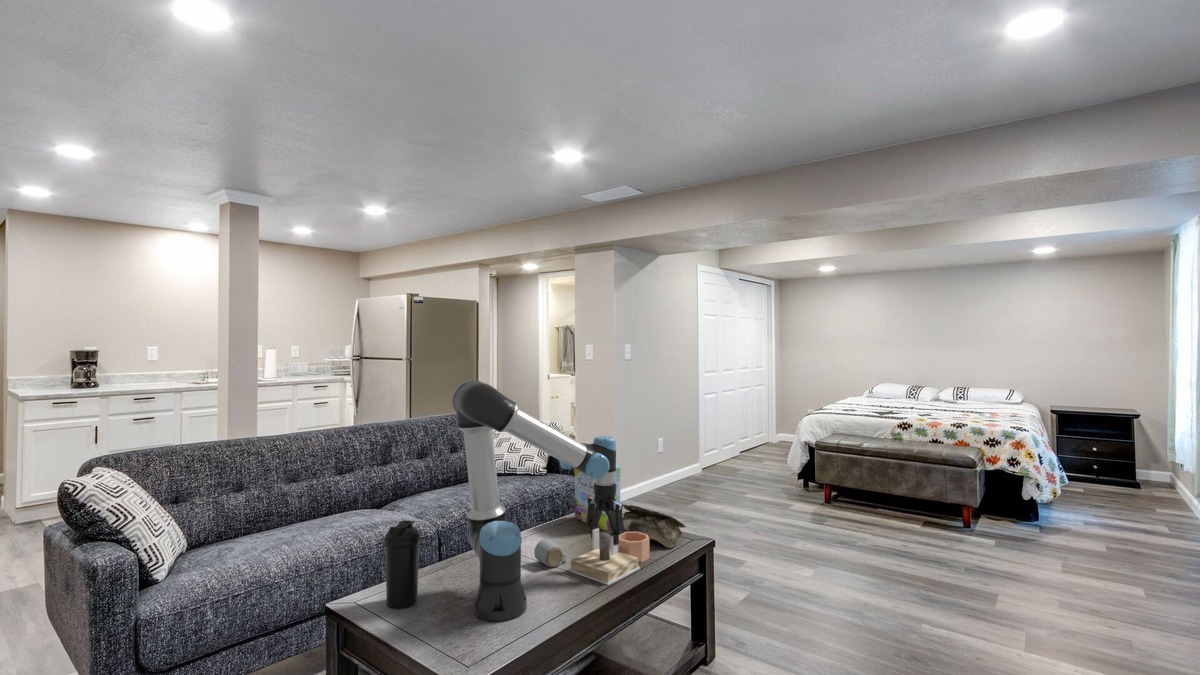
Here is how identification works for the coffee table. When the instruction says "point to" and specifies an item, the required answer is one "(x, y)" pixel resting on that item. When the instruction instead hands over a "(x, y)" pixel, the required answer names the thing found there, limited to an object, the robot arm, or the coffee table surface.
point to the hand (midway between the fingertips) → (604, 551)
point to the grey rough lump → (652, 525)
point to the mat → (602, 580)
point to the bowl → (634, 545)
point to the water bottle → (402, 565)
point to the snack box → (586, 490)
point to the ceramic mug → (549, 553)
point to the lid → (604, 562)
